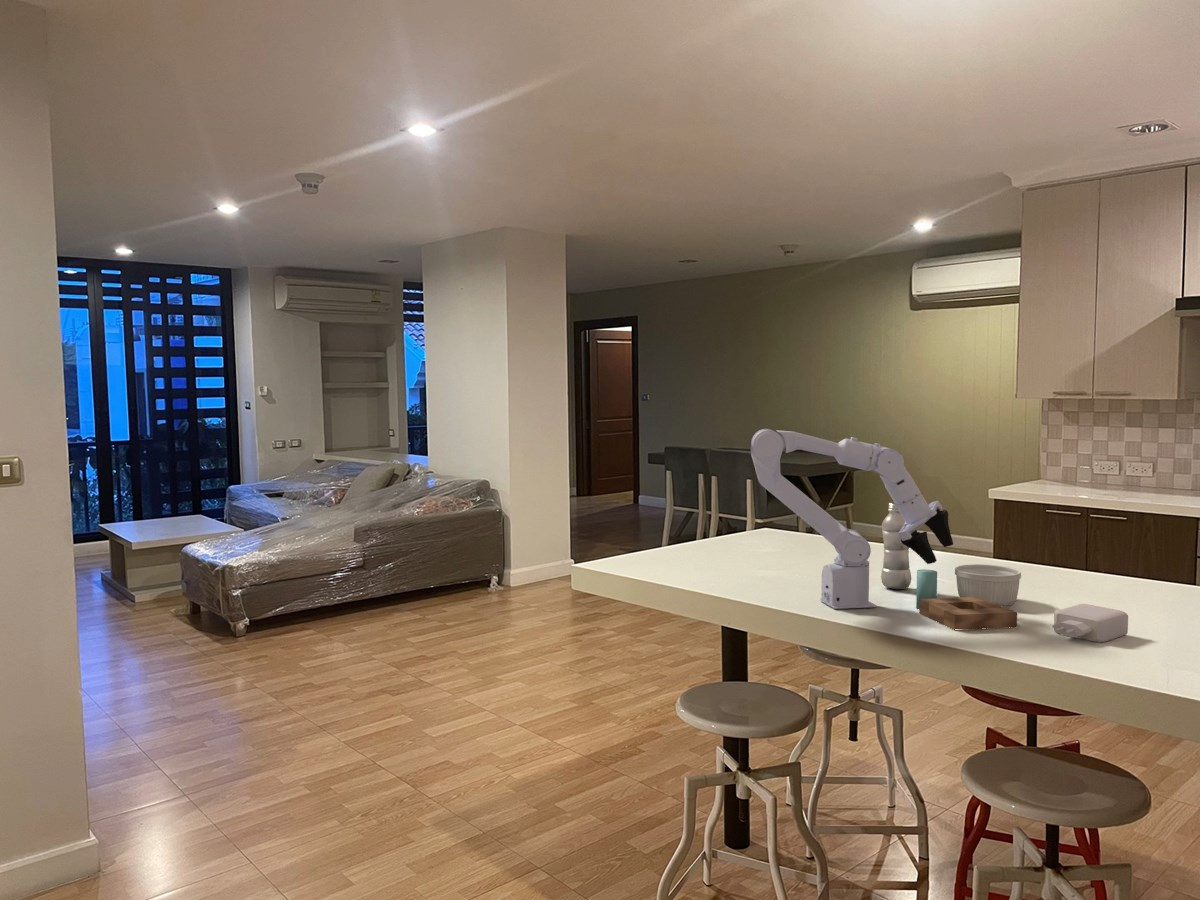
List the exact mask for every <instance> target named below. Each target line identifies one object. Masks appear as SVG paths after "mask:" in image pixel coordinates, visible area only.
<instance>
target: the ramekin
mask: <svg viewBox="0 0 1200 900" xmlns="http://www.w3.org/2000/svg"><path fill="white" fill-rule="evenodd" d="M954 575H955V576H956V577H955V579H956V587H957V593H958V596H959V598H961V597H980V598H982V599H985V600H987V601H990V602H993V603H995V604H998V605H1000V606H1003V607H1006V606H1005V605H1007V606H1010V605H1013V604H1014V603H1015V602H1017V599H1018V595H1019V589H1020V581H1021V579H1022V572H1021V570H1019V569H1017V568H1013V567H1010V566H1002V565H999V564H998V565H997V564H996V565H995V564H981V563H980V564H979V563H977V564H975V563H974V564H973V563H971V564H970V563H969V564H961V565H957V566H956V567H954Z"/></svg>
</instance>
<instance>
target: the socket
mask: <svg viewBox="0 0 1200 900" xmlns="http://www.w3.org/2000/svg"><path fill="white" fill-rule="evenodd" d="M918 611H919V612H918V613H920V615H921V614H922V616H924V617H925V618H928V619H930V620H932V621H934V622H936V621H937V622H936V623H938V622H939V623H938V624H940V623H941V625H942V624H943V626H944V625H945V626H944V627H946V626H947V627H946V628H948V627H950V628H949V629H951V628H952V629H951V630H953V629H954V630H953V631H956V630H955V629H973V630H983V629H982V628H986V629H985V630H988V629H987V628H995V629H1010V628H1011V627H1017V628H1018V611H1015V610H1013V609H1010V608H1007V607H1006V606H1000V605H998V604H995V603H993V602H990V601H987V600H985V599H982V598H980V597H961V598H960V597H941V598H940V597H939V598H938V597H937V598H936V599H920V606H919V610H918ZM1009 627H1010V628H1009ZM1011 629H1012V628H1011Z"/></svg>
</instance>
